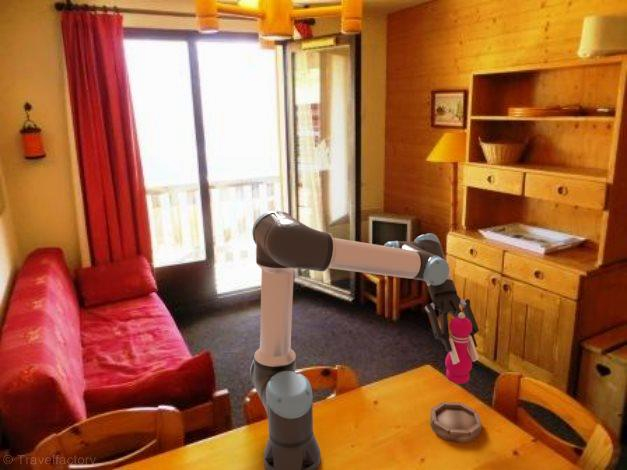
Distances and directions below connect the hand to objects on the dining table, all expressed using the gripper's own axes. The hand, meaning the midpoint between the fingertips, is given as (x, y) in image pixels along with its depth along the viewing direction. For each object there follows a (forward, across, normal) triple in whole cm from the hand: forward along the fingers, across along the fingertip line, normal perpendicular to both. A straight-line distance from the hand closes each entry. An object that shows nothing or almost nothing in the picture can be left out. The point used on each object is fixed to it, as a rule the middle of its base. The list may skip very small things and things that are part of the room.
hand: (466, 361), depth 126 cm
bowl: (+14, 0, -19) cm, 24 cm away
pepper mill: (+3, 0, -8) cm, 8 cm away
